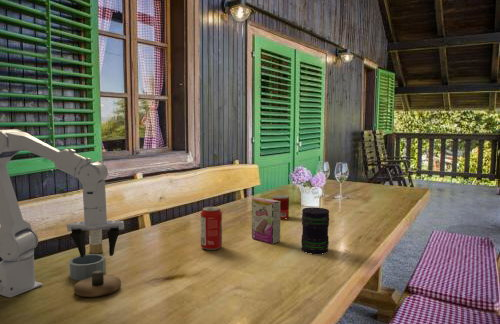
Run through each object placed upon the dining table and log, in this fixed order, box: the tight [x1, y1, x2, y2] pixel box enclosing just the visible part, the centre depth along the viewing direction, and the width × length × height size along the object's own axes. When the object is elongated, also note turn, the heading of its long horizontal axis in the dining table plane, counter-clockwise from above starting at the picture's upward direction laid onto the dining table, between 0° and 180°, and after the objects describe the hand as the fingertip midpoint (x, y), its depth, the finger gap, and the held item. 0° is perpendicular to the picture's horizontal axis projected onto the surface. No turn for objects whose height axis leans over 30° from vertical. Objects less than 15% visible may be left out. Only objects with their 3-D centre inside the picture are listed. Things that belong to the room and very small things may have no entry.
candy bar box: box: [251, 197, 281, 245], centre depth 155 cm, size 11×5×16 cm, turn 47°
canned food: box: [272, 194, 290, 220], centre depth 193 cm, size 8×8×11 cm
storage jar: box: [300, 206, 330, 255], centre depth 143 cm, size 10×10×15 cm
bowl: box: [68, 253, 107, 281], centre depth 120 cm, size 10×10×4 cm
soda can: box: [200, 206, 223, 251], centre depth 146 cm, size 8×8×15 cm
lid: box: [73, 271, 122, 298], centre depth 109 cm, size 12×12×5 cm
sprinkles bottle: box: [88, 230, 104, 254], centre depth 140 cm, size 5×5×13 cm
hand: (97, 255), depth 108 cm, fingers open, 7 cm apart
